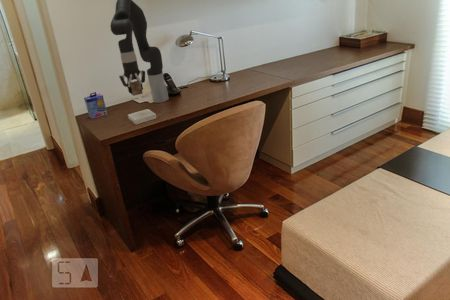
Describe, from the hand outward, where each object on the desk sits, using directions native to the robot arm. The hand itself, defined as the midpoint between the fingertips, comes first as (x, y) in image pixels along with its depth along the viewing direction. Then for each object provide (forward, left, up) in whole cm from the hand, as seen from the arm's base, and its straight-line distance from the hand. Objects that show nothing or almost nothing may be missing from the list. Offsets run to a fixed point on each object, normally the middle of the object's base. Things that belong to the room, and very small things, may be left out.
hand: (136, 91), depth 193 cm
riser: (0, 0, -15) cm, 15 cm away
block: (0, 0, -1) cm, 1 cm away
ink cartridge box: (+18, -26, -16) cm, 35 cm away
